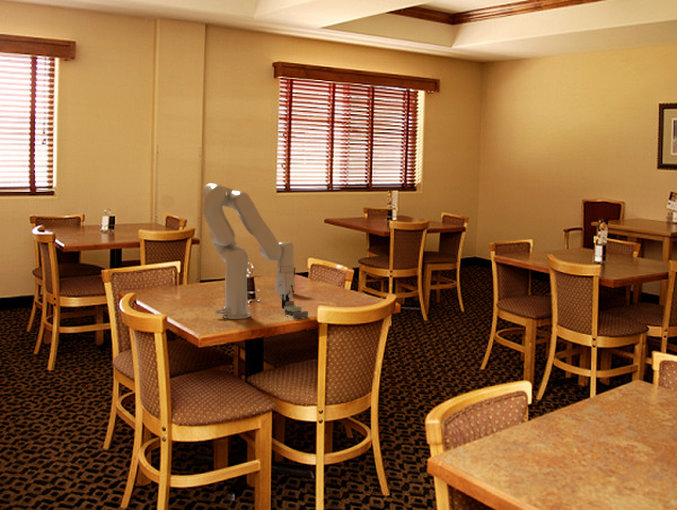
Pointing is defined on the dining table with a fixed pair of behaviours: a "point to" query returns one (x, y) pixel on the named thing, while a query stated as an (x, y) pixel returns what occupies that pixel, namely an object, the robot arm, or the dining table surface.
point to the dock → (299, 315)
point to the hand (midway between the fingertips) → (285, 308)
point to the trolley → (291, 308)
